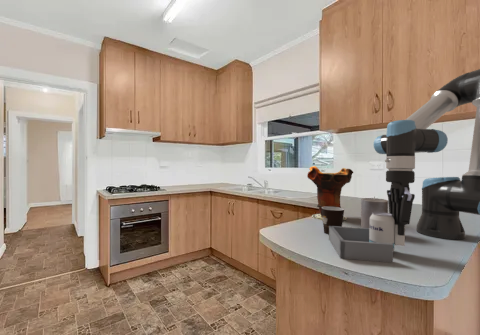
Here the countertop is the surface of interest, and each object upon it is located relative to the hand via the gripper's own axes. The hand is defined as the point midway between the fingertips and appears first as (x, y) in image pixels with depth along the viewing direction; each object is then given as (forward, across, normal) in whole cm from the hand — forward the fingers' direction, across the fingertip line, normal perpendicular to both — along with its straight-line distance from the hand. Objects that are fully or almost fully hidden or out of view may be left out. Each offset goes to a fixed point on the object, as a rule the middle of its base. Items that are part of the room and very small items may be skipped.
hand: (398, 244), depth 75 cm
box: (+3, 0, -12) cm, 13 cm away
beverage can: (+3, 0, -5) cm, 6 cm away
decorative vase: (+3, -50, -12) cm, 52 cm away
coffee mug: (+3, -20, -16) cm, 26 cm away
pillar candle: (+3, -23, +1) cm, 23 cm away
